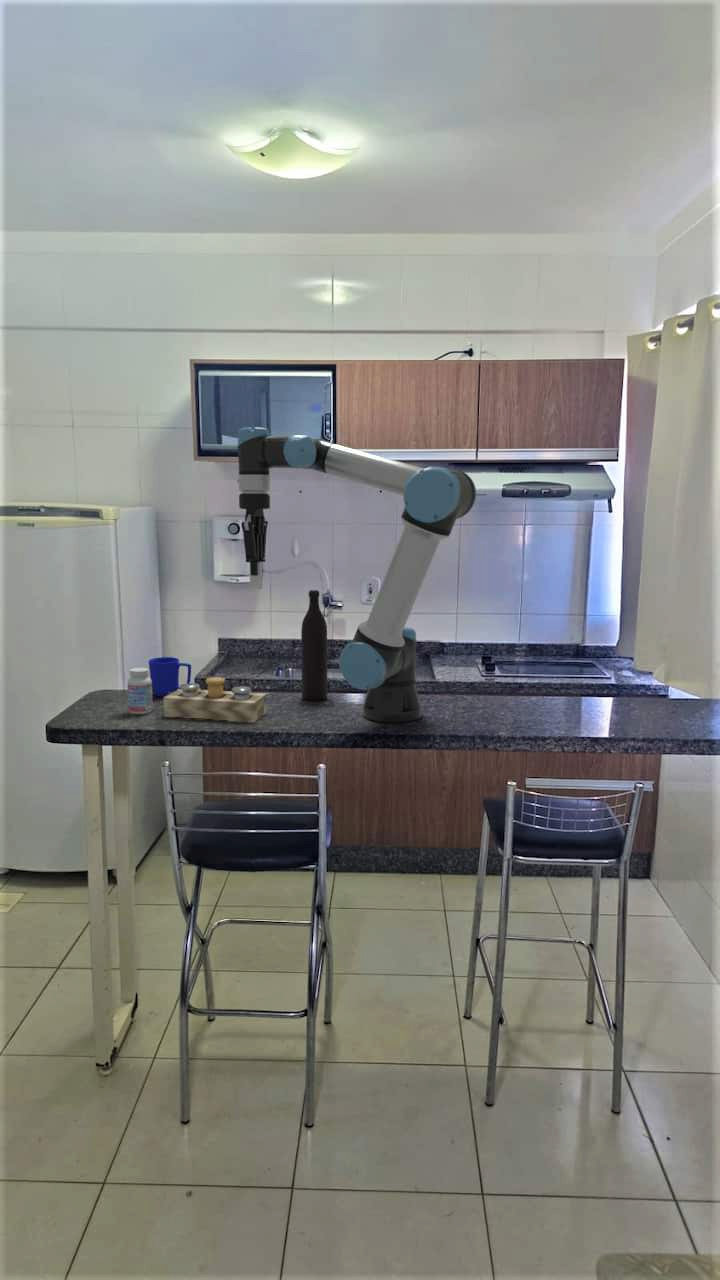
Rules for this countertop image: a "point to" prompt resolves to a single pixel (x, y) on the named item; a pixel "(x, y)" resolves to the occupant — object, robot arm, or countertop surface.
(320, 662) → the wine bottle
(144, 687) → the pill bottle
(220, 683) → the tan cylinder
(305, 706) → the countertop surface
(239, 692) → the glass spice jar
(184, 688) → the salt shaker
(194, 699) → the wooden spice rack
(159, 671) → the mug
